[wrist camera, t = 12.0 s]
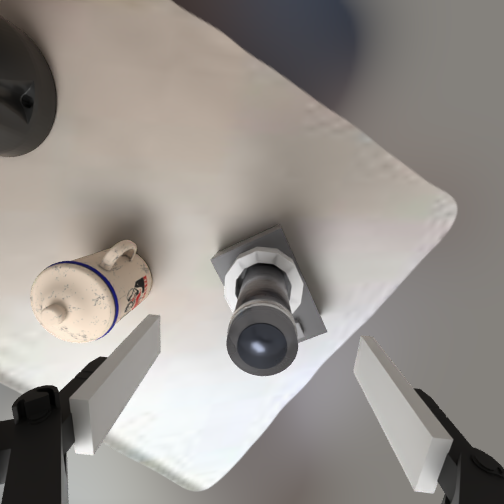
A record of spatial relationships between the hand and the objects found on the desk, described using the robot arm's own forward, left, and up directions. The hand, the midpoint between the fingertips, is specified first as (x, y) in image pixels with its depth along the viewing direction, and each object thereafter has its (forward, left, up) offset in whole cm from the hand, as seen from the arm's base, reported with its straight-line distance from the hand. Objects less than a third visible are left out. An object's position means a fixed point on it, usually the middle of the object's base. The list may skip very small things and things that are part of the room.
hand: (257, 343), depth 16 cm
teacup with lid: (-8, -17, -17) cm, 25 cm away
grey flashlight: (0, 0, -13) cm, 13 cm away
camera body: (+2, 0, -17) cm, 17 cm away
